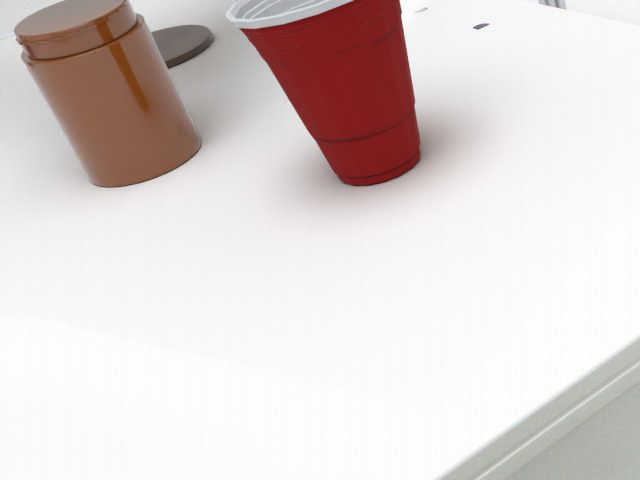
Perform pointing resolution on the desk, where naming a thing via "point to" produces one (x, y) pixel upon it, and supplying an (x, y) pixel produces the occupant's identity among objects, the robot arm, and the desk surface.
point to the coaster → (181, 42)
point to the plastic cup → (342, 78)
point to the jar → (108, 89)
